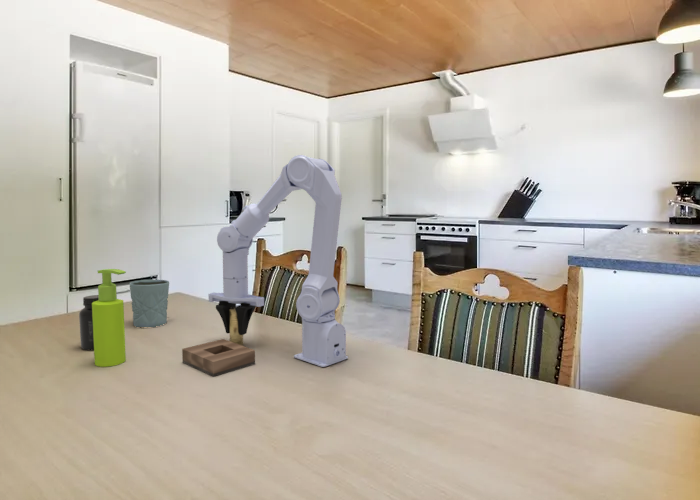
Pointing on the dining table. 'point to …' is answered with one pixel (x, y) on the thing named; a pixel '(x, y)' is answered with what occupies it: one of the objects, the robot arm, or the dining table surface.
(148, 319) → the grey-green plant pot
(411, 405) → the dining table surface
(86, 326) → the supplement bottle
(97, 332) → the soap dispenser
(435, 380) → the dining table surface
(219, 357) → the walnut block
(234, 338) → the brass peg
